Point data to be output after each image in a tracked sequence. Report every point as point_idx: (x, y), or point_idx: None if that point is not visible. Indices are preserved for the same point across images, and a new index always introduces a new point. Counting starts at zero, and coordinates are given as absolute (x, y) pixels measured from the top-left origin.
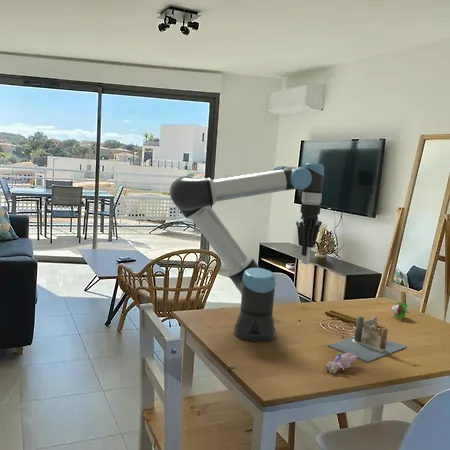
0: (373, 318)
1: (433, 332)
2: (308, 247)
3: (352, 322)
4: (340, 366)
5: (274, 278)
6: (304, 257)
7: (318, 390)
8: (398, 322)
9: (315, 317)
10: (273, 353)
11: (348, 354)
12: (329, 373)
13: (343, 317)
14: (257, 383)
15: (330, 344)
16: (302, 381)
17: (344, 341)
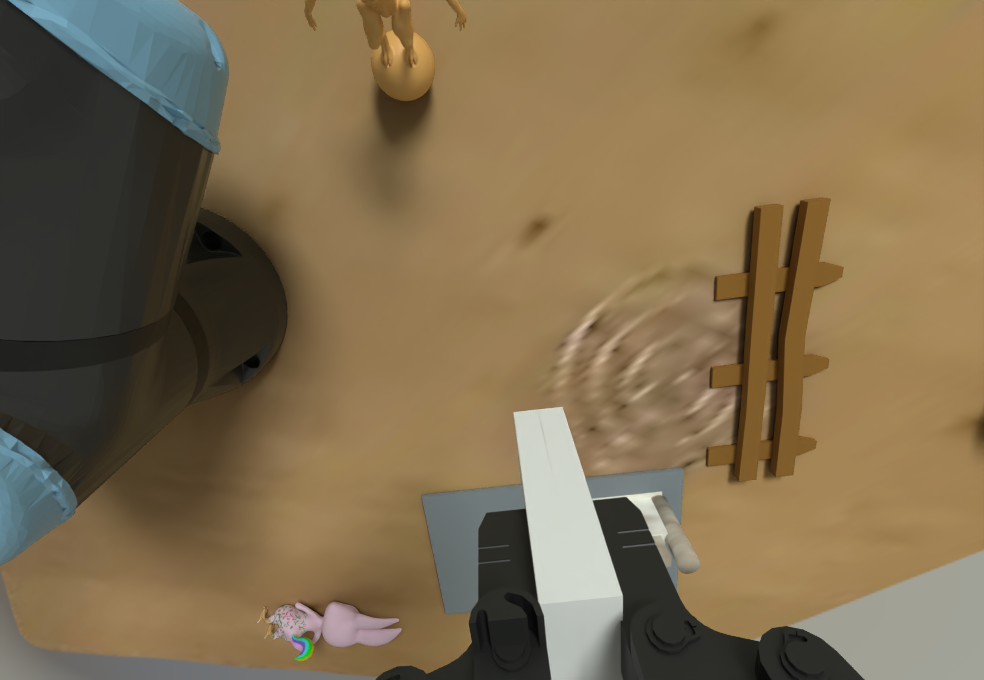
0: (677, 564)
1: (927, 542)
2: (593, 674)
3: (744, 368)
4: (314, 632)
5: (5, 561)
6: (524, 501)
7: (188, 659)
8: (948, 428)
9: (658, 224)
10: (179, 472)
11: (368, 629)
12: (269, 627)
13: (756, 320)
14: (35, 592)
15: (435, 497)
16: (172, 621)
17: (510, 496)
